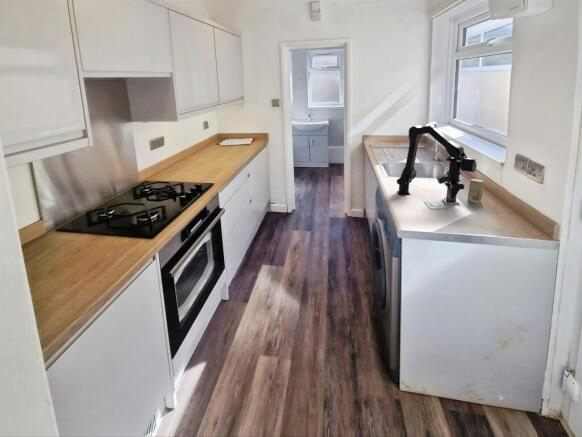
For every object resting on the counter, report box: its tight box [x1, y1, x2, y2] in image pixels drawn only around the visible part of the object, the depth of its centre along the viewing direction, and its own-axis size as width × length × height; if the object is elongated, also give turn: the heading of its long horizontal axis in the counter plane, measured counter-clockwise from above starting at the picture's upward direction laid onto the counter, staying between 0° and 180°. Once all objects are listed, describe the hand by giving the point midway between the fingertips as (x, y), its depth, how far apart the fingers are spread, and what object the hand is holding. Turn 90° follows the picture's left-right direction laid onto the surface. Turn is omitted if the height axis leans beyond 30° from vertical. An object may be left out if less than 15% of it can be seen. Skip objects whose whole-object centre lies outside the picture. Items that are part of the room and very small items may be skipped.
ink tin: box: [441, 197, 461, 206], centre depth 228 cm, size 9×7×1 cm
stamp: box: [445, 188, 457, 201], centre depth 227 cm, size 4×4×6 cm
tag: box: [423, 201, 448, 210], centre depth 223 cm, size 12×9×1 cm
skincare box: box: [467, 178, 485, 204], centre depth 226 cm, size 6×4×12 cm
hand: (451, 197), depth 227 cm, fingers closed on stamp, 4 cm apart
